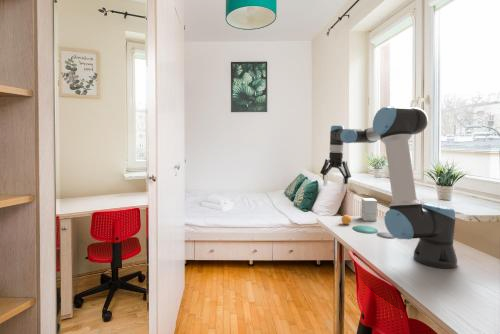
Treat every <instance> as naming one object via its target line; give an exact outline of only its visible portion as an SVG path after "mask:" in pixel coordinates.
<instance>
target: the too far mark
mask: <svg viewBox="0 0 500 334" xmlns="http://www.w3.org/2000/svg"><path fill="white" fill-rule="evenodd" d="M376 235H377V236H378V237H380V238H383V239H396V238H395V237H393V236H392V235H391V233H389V232H387V231H386V232H383V231H380V232H379V231H378V232H377V233H376Z"/></svg>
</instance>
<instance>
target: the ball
mask: <svg viewBox="0 0 500 334" xmlns="http://www.w3.org/2000/svg"><path fill="white" fill-rule="evenodd" d="M341 222H342V224H344V225H350V224H351V223H352V218H351V216H350V215H348V214H344V215H343V216H341Z"/></svg>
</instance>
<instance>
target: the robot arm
mask: <svg viewBox="0 0 500 334" xmlns="http://www.w3.org/2000/svg"><path fill="white" fill-rule="evenodd" d="M428 122H429V117H428V115H427V112H425V111H424V109H421V108H419V107H414V106H411V107H410V106H408V107H407V106H393V105H391V106H382V107H381V108H380V109H378V110H377V112H376V113H375V115H374V117H373V119H372V126H371V127H368V128H345V126H344V125H331V126H330V132H329V137H330V138H329V158H327V159H325V160H324V163H323V166H322V168H321V170H320V174H322V180H323V182H322V183H323V187H326V186H328V179H329V177H328V173H329V172H330V171H331V169H332V168H334V169H338V170H339V172H340V173H341V176H342V177H343V178H342V188H341V189H342V190H345V191H346V190H347V184H349V183H348V181H349V178H350V179H351V178H352V175H351V172H350V170H349V166H348V161H347V160H343V158H344V157H343V155H344V153H343V152H344V143H345V144H353V143H354V144H355V143H356V144H357V143H358V144H359V143H361V144H362V143H366V144H371V143H376V142H378V141H380V142H382V143H383V144H385V145H384V146H385V152H386V162H387V166H388V169H387V170H388V175H389V176H388V177H389V182H390V191H391V199H392V202H391V203H390V204H389V205H388V207H389V209H388V210H387V211H386V212H385V215H384V218H383V220H384V225H385V228H386V229H387V232H388V233H391V235H392V236H393V237H395V238H394V239H397V240H412V239H419V240H418V241H417V244H416V246H415V249H414V250H413V259H415V261H416V262H418V263H420V264H423V265H425V266H429V267H432V268H437V269H438V268H439V269H454V268H456V267H457V266H458V258H457V253H456V251H455V248H454V238H455V230H456V229H455V227H456V220H457V219H456V211H455V210H454V209H453V208H452V207H448V206H444V205H440V204H435V203H428V202H426V203H425V202H424V203H422V202H420V200H418V199H417V194H416V186H415V180H414V172H413V166H412V165H413V164H412V159H411V153H410V145H409V141H410V139H411V138H412V136H413V135H418V134H420V133H422V132H423V131H424V130H425V129H426V128H427V126H428Z"/></svg>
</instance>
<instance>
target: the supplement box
mask: <svg viewBox="0 0 500 334" xmlns="http://www.w3.org/2000/svg"><path fill="white" fill-rule="evenodd" d="M360 210H361V211H360V212H361V213H360V217H361V219H362V220H363V221H365V222H366V221H367V222H377V221H378V220H377V217H378V216H377V215H378V200H377V199H376V198H373V197H362V198H361V209H360Z"/></svg>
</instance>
